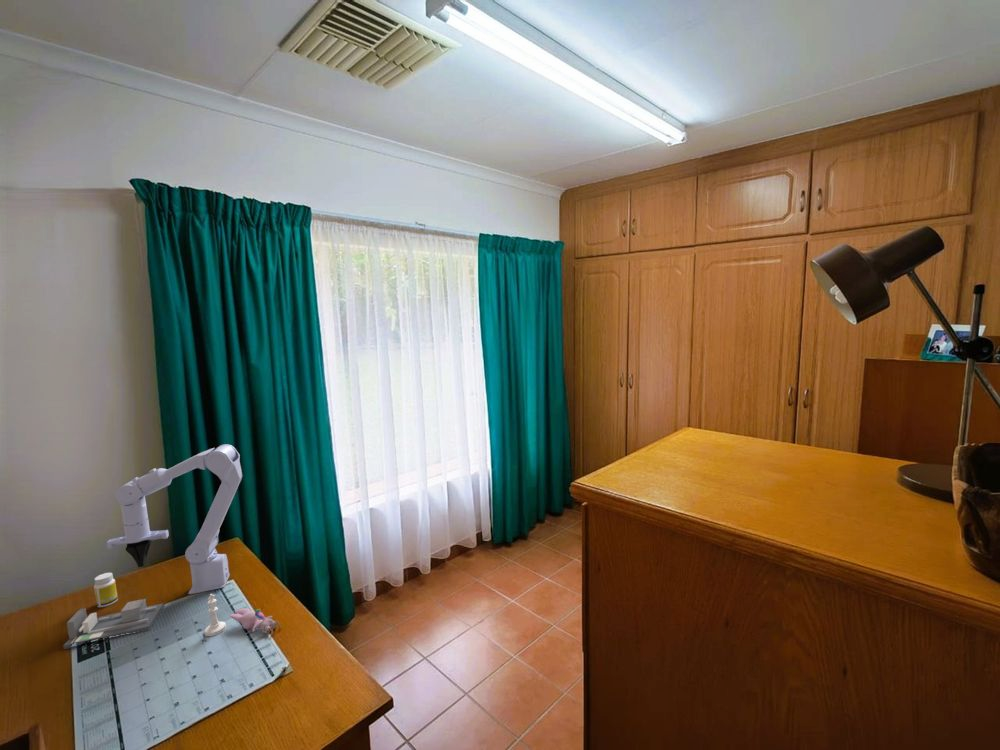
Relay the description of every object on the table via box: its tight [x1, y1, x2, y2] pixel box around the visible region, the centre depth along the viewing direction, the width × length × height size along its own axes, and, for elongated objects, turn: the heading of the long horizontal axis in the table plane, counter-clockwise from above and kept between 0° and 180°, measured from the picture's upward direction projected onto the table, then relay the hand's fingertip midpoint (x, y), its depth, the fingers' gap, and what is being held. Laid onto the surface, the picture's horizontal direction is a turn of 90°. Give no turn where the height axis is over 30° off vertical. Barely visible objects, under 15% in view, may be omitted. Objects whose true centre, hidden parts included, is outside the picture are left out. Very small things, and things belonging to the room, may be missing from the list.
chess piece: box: [204, 593, 227, 637], centre depth 118 cm, size 5×5×10 cm
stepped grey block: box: [109, 598, 148, 624], centre depth 122 cm, size 8×4×4 cm, turn 110°
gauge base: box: [62, 602, 165, 650], centre depth 121 cm, size 18×11×6 cm, turn 110°
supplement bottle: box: [93, 572, 119, 608], centre depth 133 cm, size 5×5×8 cm
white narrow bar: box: [79, 612, 98, 633], centre depth 118 cm, size 1×7×3 cm, turn 20°
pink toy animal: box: [229, 607, 282, 635], centre depth 118 cm, size 6×6×15 cm
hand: (142, 565), depth 134 cm, fingers closed
